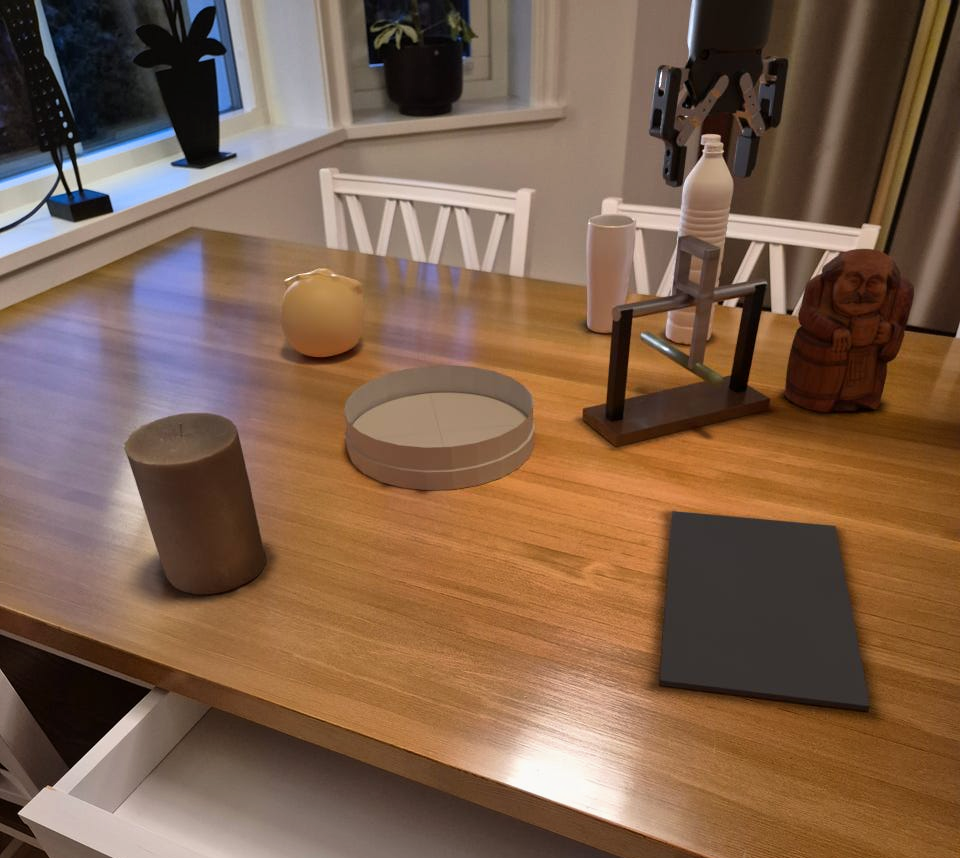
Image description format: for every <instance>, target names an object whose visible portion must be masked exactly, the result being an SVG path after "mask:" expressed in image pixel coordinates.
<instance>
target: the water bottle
mask: <svg viewBox="0 0 960 858" xmlns="http://www.w3.org/2000/svg"><path fill="white" fill-rule="evenodd" d="M721 138H722V136H721V135H719V134H714V133H706V134H702V135H701V139H700V145H702V146H704V147H703V149H702V150H701V151H702V155H701V157H700V158H699V160H698V161H697V162H696V164H695V165H694V166H693V168H692V170H690V172H689V173H688V175H687V177H686V178H685V181H684V182H683V185H682V194H681V204H680V212H679V221H678V223H679V224H678V231H677V237H676V246H675V252H674V263H673V266H672V267H673V269H672V279H671V286H670V293H669V296H672V288H673V279H674V271H675V263H676V255H677V245H678V237H682V236H688V235H691V236H694V237H696V238H698V239H701V240H703V241H705V242H708V243H710V244H712V245H714V246H717V247H719V248H721V251H720V257H719V263H718V269H717V276H716V282H715V287H719V285H720V280H719V279H720V277H721V272H722V262H723V260H724V251H725V243H726V237H727V230H728V224H729V217H730V211H731V204H732V199H733V195H734V179H733V177H732V174H731V172H730V170H729V168H728V165H727V163H726V161H725V158H724V156H723V153H724V152H725V150H724V143H723V142H721V140H722V139H721ZM702 262H703V260H702V259H700V258H697V257H695V256H693V255H692V258H691V265H690V273H689V280H690V281H692V282H694V283H696V284H698V285H699V283H700V276H701V269H702ZM716 304H717V302H715V303H712V309H711V315H710V322H709V328H708V335H707V341H706V342H708V341H709V340H710V339H711V337H712V330H713V324H714V322H713V320H714V318H715V310H716V306H715V305H716ZM695 312H696V306H694V307H689V308H684V309H679V310H673V311H668V312H667V318H666V319H667V320H666V326H665V337H666V338H667V339H668V340H669V341H672V342H674V343H677V344H684V345H691V340H692V333H693V326H694V319H695Z"/></svg>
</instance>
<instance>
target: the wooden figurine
mask: <svg viewBox="0 0 960 858" xmlns="http://www.w3.org/2000/svg"><path fill="white" fill-rule="evenodd" d="M914 296H915V287H914V285H913V284H912V282H911V280H909V278H907V277H905V276H903V275H901V271H900V269H899V267H898V266H897V263H896V262H895V260H893V258H892V257H891V256H890V255H888V254H886V253H885V252H883V251H881V250H878V249H872V248H853V249H850V250H847V251H845V252H842V253H841V254H839V255H837V256H835V257H833V258H832V259H830V261H828V262H826V264H824V265H823V266H822V269H821V273H819V274H816V275H815V276H814V277H812V278H810V279H809V280H808V282H806V285H805V287H804V291H803V296H802V299H801V303H800V306H799V309H798V313H797V317H798V323H799V327H798V328H797V329H796V331H795V334H794V336H793V340H792V344H791V348H790V351H789V356H788V361H787V367H786V374H785V386H784V387H785V390H784V395H785V398H787V399H788V400H789V401H791V403H794V404H795V405H796V406H799V407H802V408H803V409H806V410H810V411H815V412H819V413H821V412H822V413H829V412H830V411H835V412H856V411H858V410H859V409H860V408H862V409H869V410H877V409H878V407H879V406H880V403H881V399H882V396H883V392H884V389H885V383H886V380H887V374H888V363H890V362H892V361H894V360H895V359H897V358H896V357H897V355H898V354H899V353H900V350H901V348H902V344H903V342H904V338H905V330H906V328H907V325H908V322H909V319H910V314H911V310H912V307H913V302H914Z"/></svg>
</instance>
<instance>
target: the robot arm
mask: <svg viewBox="0 0 960 858" xmlns="http://www.w3.org/2000/svg"><path fill="white" fill-rule="evenodd" d="M774 7H775V0H691V3H690V11H689V12H690V13H689V19H688V20H689V21H688V27H687V28H688V30H687V38H686V43H687V47H688V57H687V60H686V63H685V64H684V66H683V67H677V66H672V65H667V64H661V65H659V66H658V68H657V70H656V75H655V81H654V82H655V83H654V89H653V95H652V104H651V111H650V118H649V126H648V135H649V136H650V137H654V138H656V139H657V140H661V141H662V142H663V143H664V153H663V162H662V163H663V164H662V171H661V174H662V179H663V180H664V183H665V185H667V186H669V187H672V188H681V187H683V185H684V178H685V177H684V176H685V170H686V160H687V152H688V146H687V145H686V143H687V142H688V140H689V139H690V138H691V135H693V133H694V131H695V130H696V128H697V127H698V126H701V125H702V124H703V122H704V121H705V120H706V118H707V116H708V117H713V116H719V115H721V114H723V113H724V114H729V115H732V116H734V118H735V119H736V122H737V125H738V126H739V129H740V131H741V132H742V134H739V135H737V142H736V149H735V153H734V154H735V155H734V161H733V167H732V173H733V175H734V177H738V178H741V179H748V178H750V177H751V176H752V172H754V170H755V168H756V164H757V159H758V154H759V153H758V152H759V148H760V140H761V137H762V136H763V135H764V133H765V132H766V131H768V130H769V129H772V128H773V129H776V128H777V127H779V125H780V123H781V121H782V114H783V113H782V112H783V106H784V99H785V91H786V85H787V84H786V83H787V76H788V70H789V60H788V59H787V58H785V57H782V56H777V55H776V56H775V55H767V56H764V58H763V49H764V48H765V47H766V46H767V45H768V43H769V37H770V31H771V26H772V20H773V13H774ZM758 81H759V89H758V90H759V91H758V96H757V94H756V91H755V88H754V87H755V86H756V84H757V83H758ZM684 87H685V89H686V91H685V93H684V95H683V96H682V98H681V99H680V101H679V95H680V93H681V91H683V90H684ZM678 102H679V103H678ZM692 108H693V109H692Z"/></svg>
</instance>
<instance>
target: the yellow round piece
mask: <svg viewBox="0 0 960 858" xmlns="http://www.w3.org/2000/svg"><path fill="white" fill-rule="evenodd" d="M283 284H284V287H285V292H284V295H283V297H282V300H281V304H280V310H279V311H280V312H279V317H280V319H279V320H280V325H281V329H282V332H283V335H284V336H285V339H286V340H287V342H288V344H289V345H290V346H291V348H292V349H293V350H295V351H296V352H297V353H300V354H302V355H305V356H308V357H315V358H326V357H332V356H336V355H337V356H338V355H340V354H342V353H346V352H348V351H350V350H351V349H353V348H354V347H356V345H358V343H359V340H360V338H361V335H362V332H363V327H364V322H365V297H364V285H363V284H362V282H361V281H359V280H357V279H354V278H351V277H348V276H345V275H341V274H337V273H335V271H334V270H331V269H329V268H325V267H319V268H317V269H315V270H313V271H312V270H311V271H308V272H307V273H299V274H295V275H293V276H292V277H288V278H287V279H285V280H284V282H283Z"/></svg>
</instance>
